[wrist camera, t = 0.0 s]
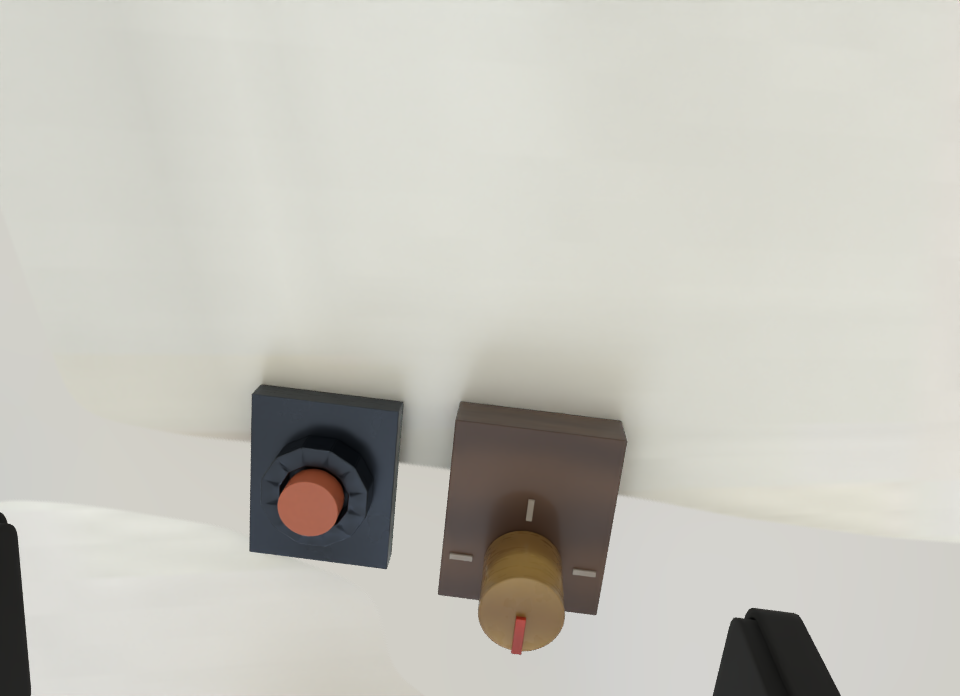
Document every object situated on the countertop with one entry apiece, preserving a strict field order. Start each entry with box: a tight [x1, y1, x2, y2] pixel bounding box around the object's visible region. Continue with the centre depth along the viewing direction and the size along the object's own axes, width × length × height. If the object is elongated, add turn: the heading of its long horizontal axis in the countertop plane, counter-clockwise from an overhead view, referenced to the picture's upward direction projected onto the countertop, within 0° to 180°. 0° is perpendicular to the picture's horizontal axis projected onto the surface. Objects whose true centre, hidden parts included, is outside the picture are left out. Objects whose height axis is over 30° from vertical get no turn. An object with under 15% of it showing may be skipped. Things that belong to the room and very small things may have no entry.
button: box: [278, 469, 344, 536], centre depth 47 cm, size 4×4×2 cm
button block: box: [249, 385, 403, 569], centre depth 49 cm, size 11×9×4 cm
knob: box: [478, 531, 565, 655], centre depth 46 cm, size 5×5×5 cm
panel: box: [438, 402, 627, 615], centre depth 49 cm, size 14×10×3 cm
